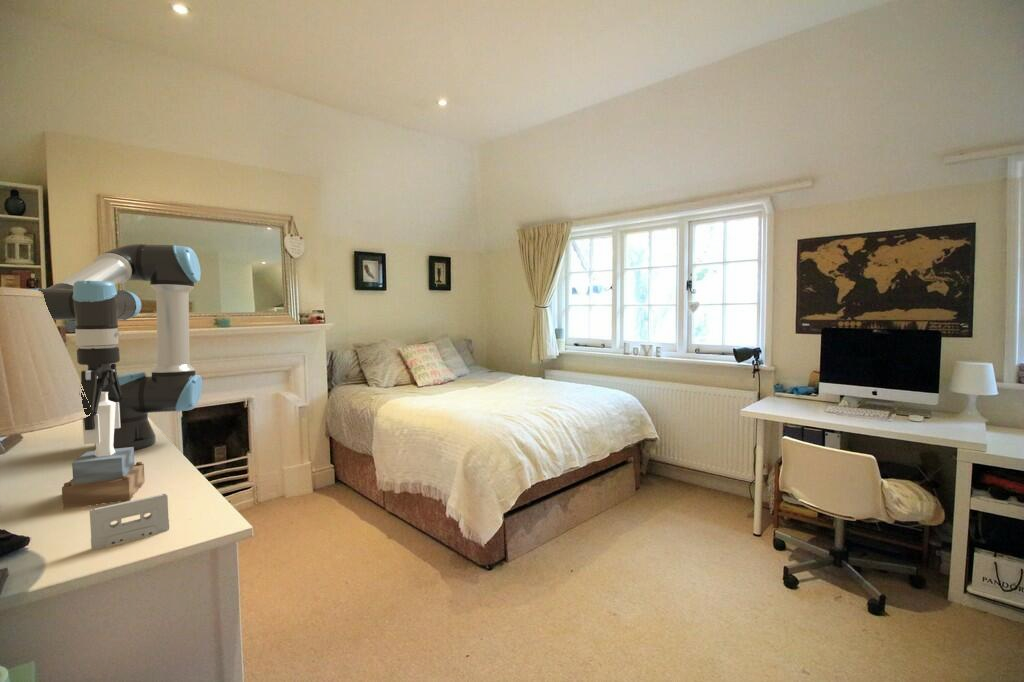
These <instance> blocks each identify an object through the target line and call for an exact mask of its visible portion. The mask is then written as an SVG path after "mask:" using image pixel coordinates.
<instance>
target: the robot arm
mask: <svg viewBox="0 0 1024 682" xmlns="http://www.w3.org/2000/svg"><path fill="white" fill-rule="evenodd" d="M201 276H202V271H201V265H200V261H199V258H198V256H197V254H196V252H195V250H193V248H191V247H189V246H183V245H182V246H181V245H176V244H174V245H172V244H169V245H168V244H143V243H133V244H126V245H122V246H118V247H116V248H113V249H110V250H107V251H104V252H103V253H101V254H100V255H98V256H96V257H95V258H94V260H93V262H92V263H91V264H89V265H86V266H85V267H84V268H82V269H80V270H78V271H76V272H75V273H73V274H71V275H69V276H67V277H65V278H64V279H61V280H60V281H58V282H57V283H55V284H52V285H51V286H49V287H47V288H41V287H37V288H29V289H30V290H38V291H41V292H43V294H44V298H45V302H46V305H47V307H48V310H49V312H50V314H51V316H52V318H53V320H54V321H57V320H58V321H61V320H62V321H63V320H64V321H69V320H70V321H71V320H73V321H75V328H74V329H75V346H77V347H79V348H77V349H76V359H77V363H78V364H79V365H82V366H84V365H85V366H87V370H82V371H81V373H80V375H81V377H80V378H81V379H80V385H81V384H82V386H83V389H84V391H83V390H82V392H83V394H84V392H85V394H86V397H87V399H88V400H87V399H86V397H85V395H84V397H83V395H82V393H81V397H82V399H83V400H82V404H83V408H87V409H84V412H85V414H86V415H89V414H90V413H91V414H90V416H88V417H86V418H83V419H82V420H81V421H82V434H83V445H90V444H94V451H95V450H96V444H95V443H100V442H101V441H100V424H99V414H97V410H98V405H99V401H100V396H101V392H108V400H109V401H113V402H116V406H115V424H114V442H113V447H114V449H116V448H127V447H134V451H135V450H141V449H143V448H147V447H150V446H151V445H154V444H156V441H157V440H156V433H155V431H154V429H153V426H152V425H151V423H150V421H149V415H148V414H149V413H164V412H165V413H167V412H177V413H179V412H184V411H186V412H187V411H191V410H194V409H195V408H196V407H197V406H198V404H199V403H200V399H201V396H202V392H203V378H202V376H201V375H199V374H196V368H194V367H193V366H192V365H191V363H190V359H191V358H190V356H191V355H190V300H189V299H190V298H189V297H190V295H189V294H190V292H192V290H193V289H194V288H195V283H198V282H200V281H201ZM129 281H139V282H141V281H143V282H149V283H150V285H149V286H150V287H151V288H152V289H153V290H154V292H156V295H155V296H156V355H157V366H156V367H154V369H152V370H151V376H147V374H146V372H145V371H136V372H128V373H123V374H122V373H121V374H118V373H117V365H116V364H117V363H119V362H120V357H121V356H120V347H118V346H116V345H118V344H120V343H119V337H120V336H122V334H121V332H119V330H118V328H119V323H118V321H121V320H123V321H126V320H128V319H132V318H136V316H137V315H139V313H141V310H142V301H141V299H140V298H139V297H138V295H136V294H135V293H134V292H131V291H128V290H125V289H117V288H116V285H119V284H123V283H126V282H129ZM53 320H52V321H53ZM81 389H82V388H81ZM88 401H89V403H88ZM90 405H91V407H90Z"/></svg>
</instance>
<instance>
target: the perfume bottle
mask: <svg viewBox="0 0 1024 682" xmlns="http://www.w3.org/2000/svg"><path fill="white" fill-rule="evenodd" d="M115 406H116V402H113V401H109V400H108V392H101V396H100V401H99V405H98V410H97V414H99V424H100V441H101V442H100V443H94V445H95V444H96V450H95V449H94V451H95V454H94V455H95V456H96V457H102V456H110V455H112V454H114V453H115V449H114V447H113V442H114V424H115Z"/></svg>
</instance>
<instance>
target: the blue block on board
mask: <svg viewBox="0 0 1024 682" xmlns="http://www.w3.org/2000/svg"><path fill="white" fill-rule="evenodd" d="M94 454H95V450H87V451H86V452H85V453H84V454H82V455H80V456H79V457H77V458H76V459H75V460H74V461H72V462H71V467H72V468H71V469H72V470H71V471H72V479H70V481H68V482H64V483H63V486H62V487H61V498H62V509H63V510H67V509H66V508H68V509H73V508H74V507H75V508H81V507H89V505H91V506H96V504H98V505H103V504H102V503H106V504H111V503H110V502H114V503H119V502H118V501H121V502H128V501H127V500H129V501H131V500H132V498H134V496H135V495H136V494H137V492H138V491H139V490H140V489H141V488H142V486H143V485H144V484H145V483H144V482H145V465H144V463H143V461H137V462H135V450H134V447H127V448H116V449H115V453H114V454H112V455H110V456H102V457H96V456H95V455H94ZM139 488H140V489H139ZM138 489H139V490H138ZM135 493H136V494H135ZM134 494H135V495H134ZM133 495H134V496H133ZM130 499H131V500H130ZM75 508H74V509H75Z"/></svg>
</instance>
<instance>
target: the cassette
mask: <svg viewBox="0 0 1024 682" xmlns="http://www.w3.org/2000/svg"><path fill="white" fill-rule="evenodd" d="M168 501H169V500H168V495H167V493H161V494H157V495H152V496H148V497H143V498H138V499H133V500H129V501H122V502H118V503H113V504H110V505H106V506H101V507H96V508H95V507H94V508H91V509H89V522H90V524H89V525H90V546H91V547H90V548H91V550H93V551H94V550H97V549H98V550H99V549H102V548H108V547H112V546H115V545H119V544H124V543H127V542H132V541H135V540H140V539H143V538H148V537H150V536H154V535H158V534H160V533H163V532H167V530H168V531H169V530H170V520H169V519H170V518H169V502H168ZM146 514H149V515H148V516H145V515H146ZM134 516H139V518H136V519H133V520H129V521H124V522H123V521H122V519H126V518H130V517H134ZM113 522H116V523H113Z"/></svg>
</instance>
